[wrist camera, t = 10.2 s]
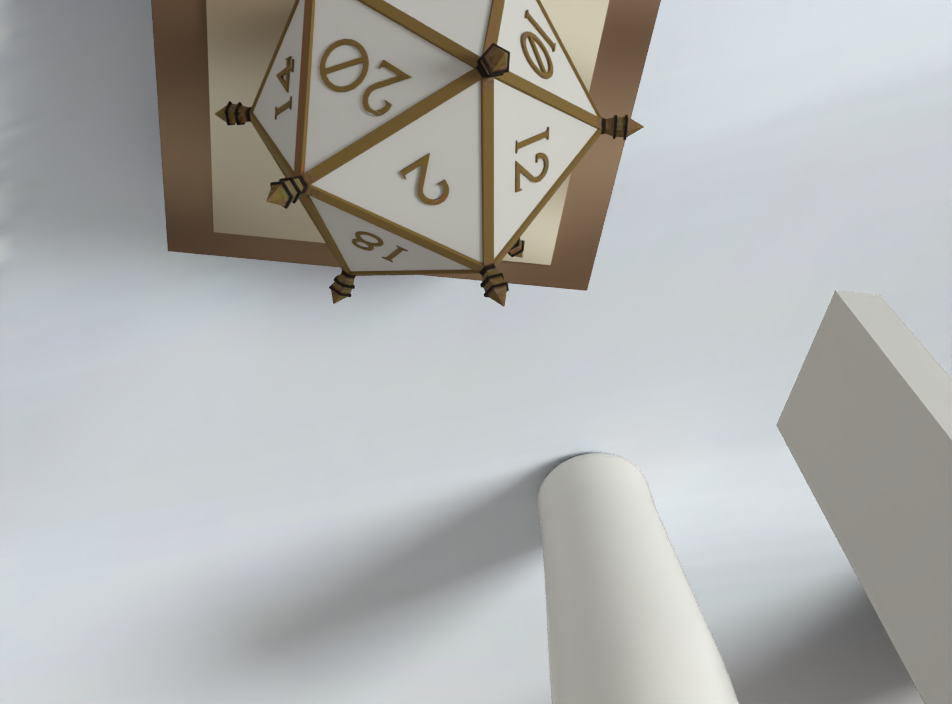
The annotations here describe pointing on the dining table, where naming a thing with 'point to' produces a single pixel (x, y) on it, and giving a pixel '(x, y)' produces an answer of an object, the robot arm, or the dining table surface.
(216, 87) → the plinth
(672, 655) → the drinking glass
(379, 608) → the dining table surface
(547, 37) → the game die
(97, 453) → the dining table surface
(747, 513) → the dining table surface
